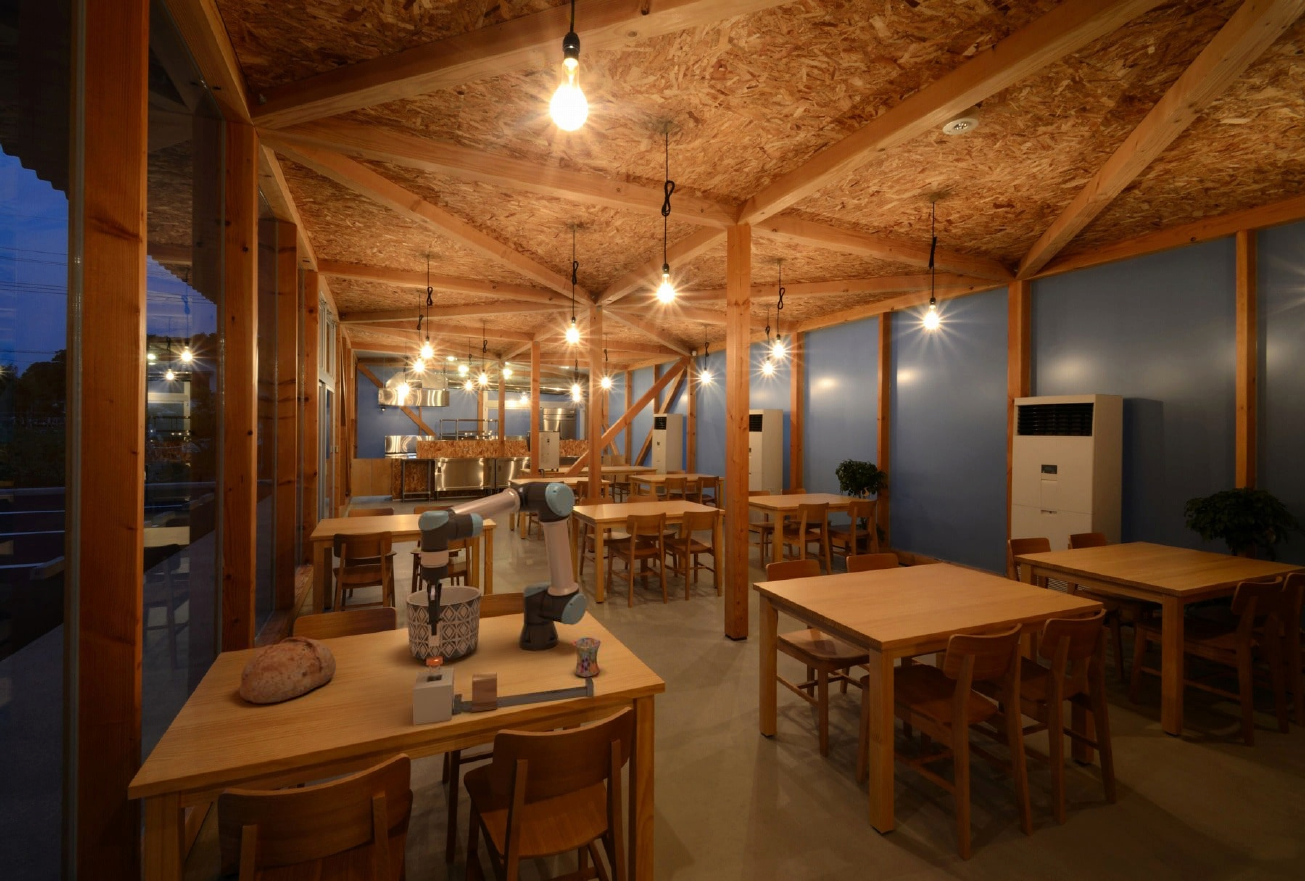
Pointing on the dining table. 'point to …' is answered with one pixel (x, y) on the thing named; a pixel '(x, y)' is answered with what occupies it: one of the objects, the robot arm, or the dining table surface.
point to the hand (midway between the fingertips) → (434, 645)
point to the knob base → (433, 697)
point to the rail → (530, 697)
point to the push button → (434, 666)
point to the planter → (445, 622)
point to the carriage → (484, 691)
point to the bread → (286, 670)
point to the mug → (586, 656)
